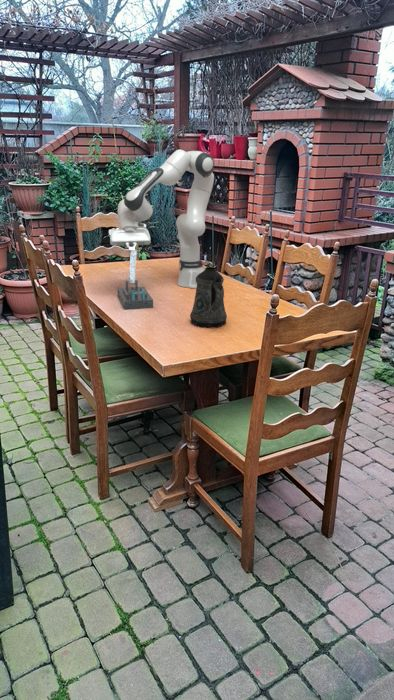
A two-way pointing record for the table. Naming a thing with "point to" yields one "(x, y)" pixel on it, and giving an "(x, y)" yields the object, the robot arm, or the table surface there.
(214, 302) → the beer stein
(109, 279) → the table surface
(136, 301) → the grey mechanical fixture
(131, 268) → the silver long bar
